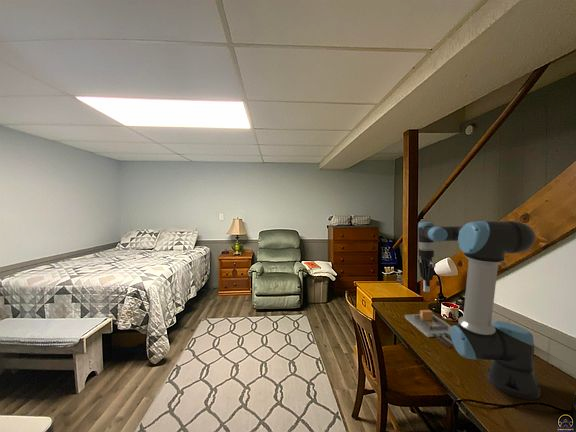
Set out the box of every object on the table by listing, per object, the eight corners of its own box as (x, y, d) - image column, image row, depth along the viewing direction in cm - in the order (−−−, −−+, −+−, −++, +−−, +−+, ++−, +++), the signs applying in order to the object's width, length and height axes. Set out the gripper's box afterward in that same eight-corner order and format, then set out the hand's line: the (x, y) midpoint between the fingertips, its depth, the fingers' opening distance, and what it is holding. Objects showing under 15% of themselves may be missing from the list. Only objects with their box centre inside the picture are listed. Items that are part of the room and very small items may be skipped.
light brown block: (432, 320, 148) (432, 311, 148) (422, 320, 148) (422, 312, 147) (429, 318, 151) (429, 309, 151) (419, 318, 151) (419, 310, 150)
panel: (460, 335, 134) (460, 329, 133) (427, 337, 133) (427, 330, 133) (432, 316, 158) (432, 311, 157) (404, 317, 157) (404, 312, 157)
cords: (464, 347, 122) (464, 345, 122) (448, 348, 122) (448, 346, 122) (448, 336, 133) (448, 334, 133) (434, 336, 133) (434, 334, 133)
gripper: (440, 251, 133) (440, 295, 133) (425, 247, 146) (426, 287, 146) (426, 251, 133) (426, 295, 133) (413, 248, 146) (413, 288, 146)
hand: (426, 291), depth 139 cm, fingers closed
